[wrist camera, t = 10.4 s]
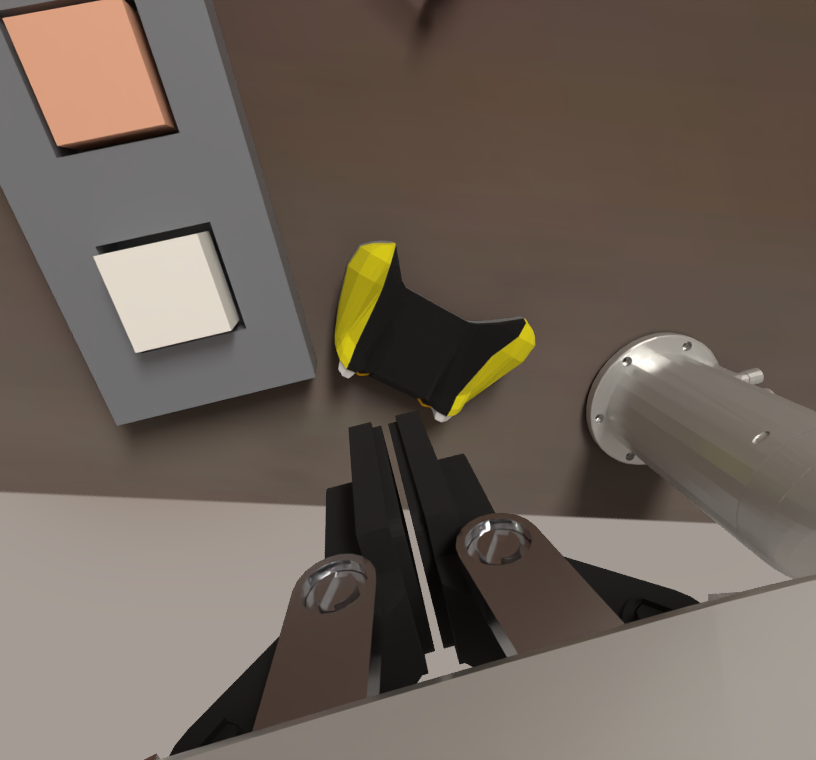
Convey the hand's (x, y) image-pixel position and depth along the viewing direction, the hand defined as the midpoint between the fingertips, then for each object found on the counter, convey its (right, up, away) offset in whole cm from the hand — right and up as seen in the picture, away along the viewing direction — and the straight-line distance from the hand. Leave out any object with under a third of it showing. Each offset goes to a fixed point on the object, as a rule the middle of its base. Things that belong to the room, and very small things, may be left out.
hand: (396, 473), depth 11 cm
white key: (-15, +8, +20) cm, 27 cm away
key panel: (-16, +15, +21) cm, 30 cm away
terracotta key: (-17, +20, +17) cm, 32 cm away
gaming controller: (+1, +6, +27) cm, 28 cm away
